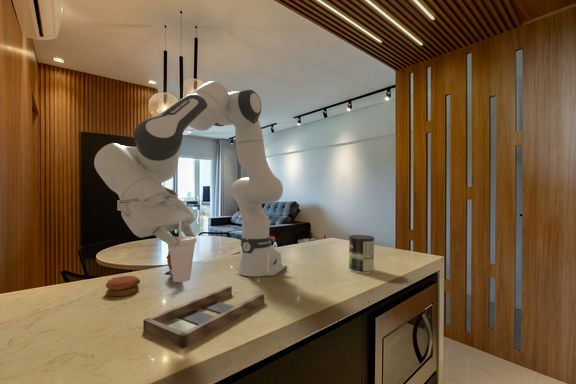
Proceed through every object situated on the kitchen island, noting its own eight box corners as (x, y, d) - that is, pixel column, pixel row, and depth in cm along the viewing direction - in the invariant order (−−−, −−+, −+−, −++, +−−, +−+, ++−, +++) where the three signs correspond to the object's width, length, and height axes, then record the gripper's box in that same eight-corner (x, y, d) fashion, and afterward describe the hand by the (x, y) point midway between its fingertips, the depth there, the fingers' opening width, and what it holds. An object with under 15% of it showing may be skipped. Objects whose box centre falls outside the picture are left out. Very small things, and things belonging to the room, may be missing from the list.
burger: (135, 296, 85) (135, 280, 85) (100, 299, 82) (101, 283, 82) (142, 286, 94) (142, 272, 94) (111, 288, 91) (111, 274, 92)
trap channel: (228, 293, 87) (228, 285, 87) (264, 302, 80) (264, 294, 80) (143, 330, 63) (143, 319, 63) (182, 348, 56) (182, 336, 56)
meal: (162, 274, 108) (163, 241, 108) (174, 272, 110) (174, 240, 110) (172, 284, 95) (172, 247, 96) (184, 282, 98) (185, 245, 98)
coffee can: (350, 273, 111) (350, 238, 111) (348, 266, 121) (348, 234, 121) (376, 274, 109) (376, 239, 109) (372, 267, 119) (372, 235, 120)
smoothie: (162, 279, 64) (162, 219, 64) (188, 274, 68) (188, 218, 68) (174, 286, 59) (175, 221, 59) (201, 279, 64) (202, 219, 64)
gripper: (123, 189, 55) (167, 239, 53) (178, 191, 75) (211, 227, 73) (103, 211, 55) (146, 261, 54) (163, 207, 76) (196, 243, 74)
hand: (184, 242), depth 64 cm, fingers closed on smoothie, 6 cm apart
